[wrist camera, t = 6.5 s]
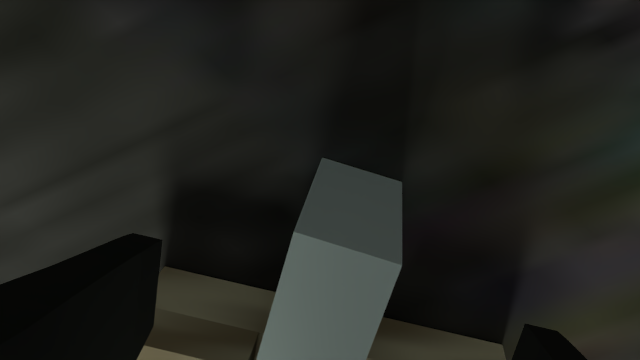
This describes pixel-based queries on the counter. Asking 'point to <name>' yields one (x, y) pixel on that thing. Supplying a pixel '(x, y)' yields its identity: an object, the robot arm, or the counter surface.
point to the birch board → (251, 319)
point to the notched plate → (337, 268)
